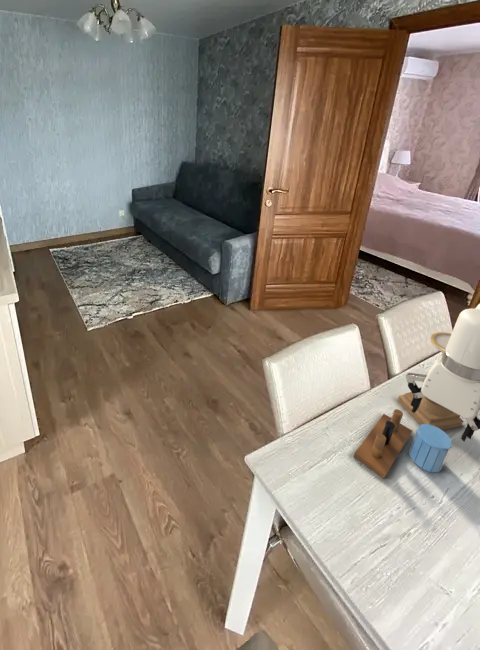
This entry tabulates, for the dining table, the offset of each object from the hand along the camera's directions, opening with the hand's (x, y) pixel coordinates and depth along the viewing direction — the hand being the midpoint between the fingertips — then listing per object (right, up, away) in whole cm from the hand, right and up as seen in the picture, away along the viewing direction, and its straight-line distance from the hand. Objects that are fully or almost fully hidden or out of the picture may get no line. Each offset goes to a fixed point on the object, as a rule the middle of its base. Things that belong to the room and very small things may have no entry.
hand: (438, 422), depth 80 cm
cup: (0, -11, +5) cm, 12 cm away
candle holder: (+10, -6, +18) cm, 21 cm away
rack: (-8, -10, +8) cm, 15 cm away
